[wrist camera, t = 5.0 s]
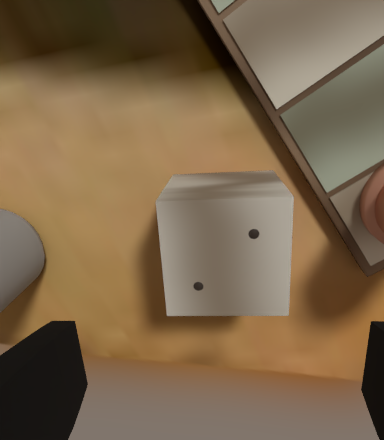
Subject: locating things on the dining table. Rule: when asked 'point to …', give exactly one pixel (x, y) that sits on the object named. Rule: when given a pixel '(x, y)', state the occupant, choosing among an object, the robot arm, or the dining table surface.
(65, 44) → the dining table surface
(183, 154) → the dining table surface
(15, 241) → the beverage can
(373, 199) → the pawn
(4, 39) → the dining table surface
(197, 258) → the die
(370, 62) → the board
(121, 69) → the dining table surface
